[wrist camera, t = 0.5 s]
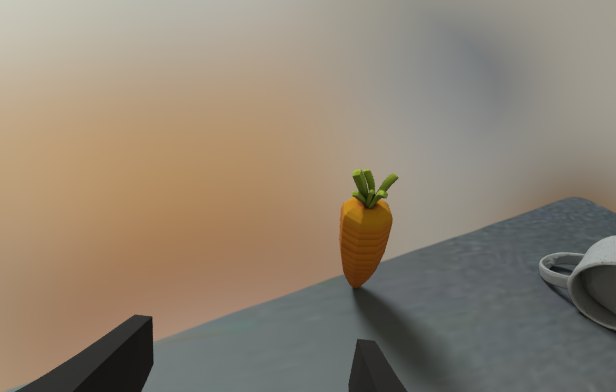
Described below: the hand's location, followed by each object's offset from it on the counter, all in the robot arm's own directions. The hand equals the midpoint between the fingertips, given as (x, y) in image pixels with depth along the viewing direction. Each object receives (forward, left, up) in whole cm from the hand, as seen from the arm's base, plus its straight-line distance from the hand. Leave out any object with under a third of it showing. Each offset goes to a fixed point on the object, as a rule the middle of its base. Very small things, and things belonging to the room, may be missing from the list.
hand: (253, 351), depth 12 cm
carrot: (+20, -6, -19) cm, 28 cm away
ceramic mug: (+22, -32, -19) cm, 43 cm away
